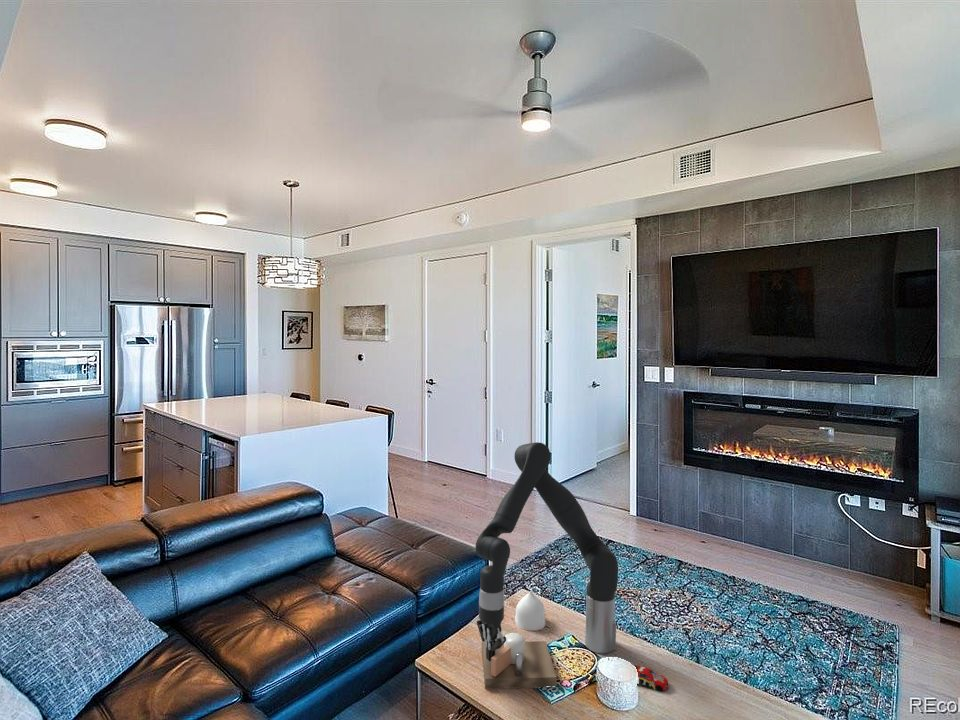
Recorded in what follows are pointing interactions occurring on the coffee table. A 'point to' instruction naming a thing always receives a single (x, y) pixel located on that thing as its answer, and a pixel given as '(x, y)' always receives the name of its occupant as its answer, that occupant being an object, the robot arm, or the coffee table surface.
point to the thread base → (522, 669)
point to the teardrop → (530, 613)
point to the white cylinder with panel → (508, 653)
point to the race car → (651, 679)
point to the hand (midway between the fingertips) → (490, 659)
